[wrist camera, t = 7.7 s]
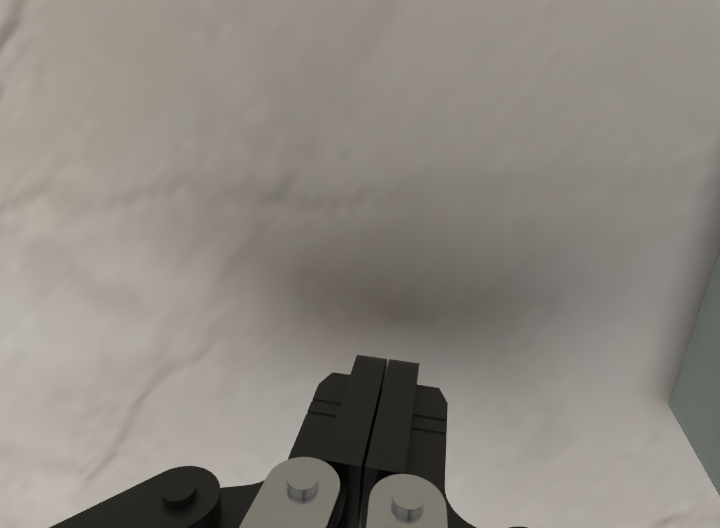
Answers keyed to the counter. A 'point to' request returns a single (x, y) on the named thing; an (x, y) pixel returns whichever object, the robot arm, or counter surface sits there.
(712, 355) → the grey block
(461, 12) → the counter surface
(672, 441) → the counter surface
